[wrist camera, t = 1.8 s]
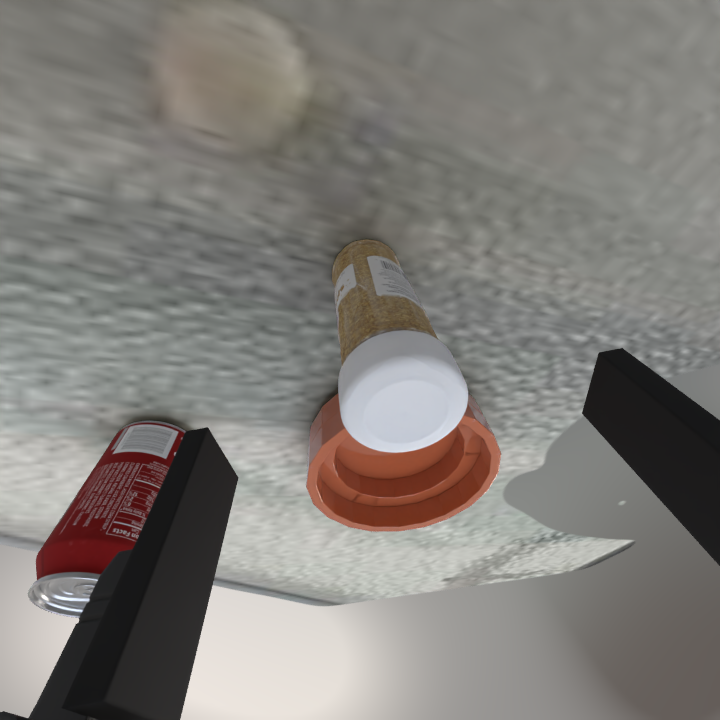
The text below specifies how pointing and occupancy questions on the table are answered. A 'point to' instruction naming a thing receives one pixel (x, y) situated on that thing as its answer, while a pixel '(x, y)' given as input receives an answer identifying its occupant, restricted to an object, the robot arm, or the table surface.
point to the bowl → (398, 474)
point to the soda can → (104, 516)
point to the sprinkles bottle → (391, 356)
